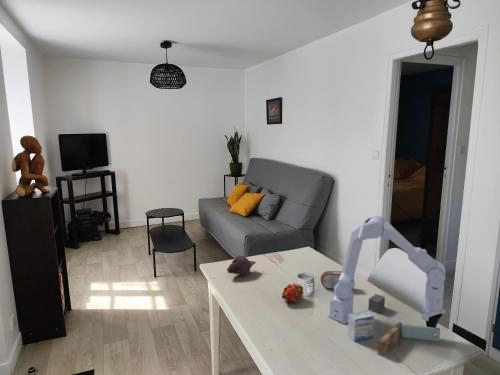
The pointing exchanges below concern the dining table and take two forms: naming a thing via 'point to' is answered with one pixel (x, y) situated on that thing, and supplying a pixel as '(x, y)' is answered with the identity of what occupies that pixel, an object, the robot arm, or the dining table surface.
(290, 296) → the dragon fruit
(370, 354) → the dining table surface
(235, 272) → the purple toy animal
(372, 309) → the dark grey block
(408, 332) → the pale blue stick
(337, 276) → the tin
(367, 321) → the medicine box
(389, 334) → the brown wooden plank
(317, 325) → the dining table surface
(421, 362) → the dining table surface
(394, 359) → the dining table surface
